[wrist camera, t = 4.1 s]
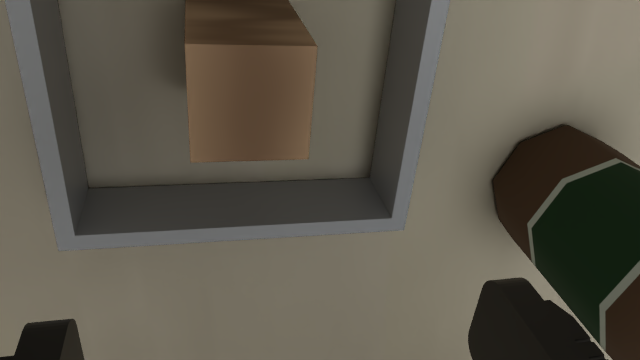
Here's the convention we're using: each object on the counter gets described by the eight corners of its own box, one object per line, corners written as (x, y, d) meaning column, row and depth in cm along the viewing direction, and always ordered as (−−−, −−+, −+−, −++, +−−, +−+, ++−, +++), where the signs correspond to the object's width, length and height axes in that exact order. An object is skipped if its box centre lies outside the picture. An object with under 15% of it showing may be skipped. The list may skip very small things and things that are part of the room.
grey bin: (435, -143, 23) (478, -142, 19) (381, 189, 31) (403, 230, 28) (2, -187, 19) (-37, -193, 16) (73, 202, 28) (58, 251, 24)
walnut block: (287, -2, 25) (317, 46, 19) (282, 90, 27) (308, 159, 21) (185, -6, 24) (184, 43, 18) (189, 91, 26) (190, 162, 20)
